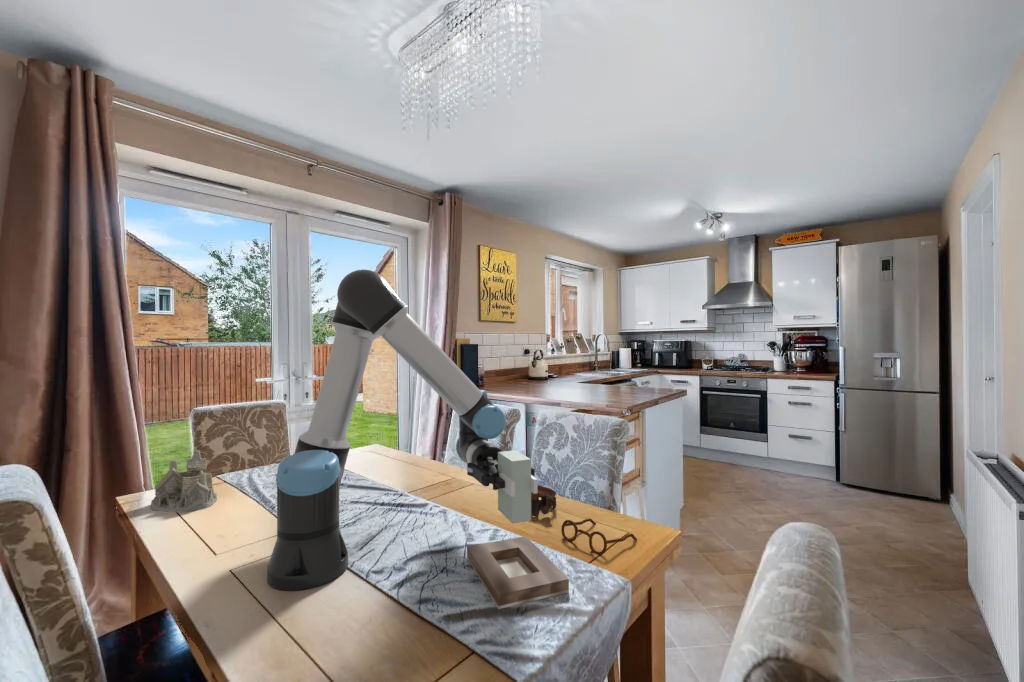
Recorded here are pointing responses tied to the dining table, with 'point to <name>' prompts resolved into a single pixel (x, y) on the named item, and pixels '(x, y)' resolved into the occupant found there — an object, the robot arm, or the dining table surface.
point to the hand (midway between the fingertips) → (524, 487)
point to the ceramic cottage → (185, 488)
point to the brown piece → (542, 501)
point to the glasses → (591, 535)
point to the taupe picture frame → (516, 571)
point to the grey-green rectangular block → (520, 473)
